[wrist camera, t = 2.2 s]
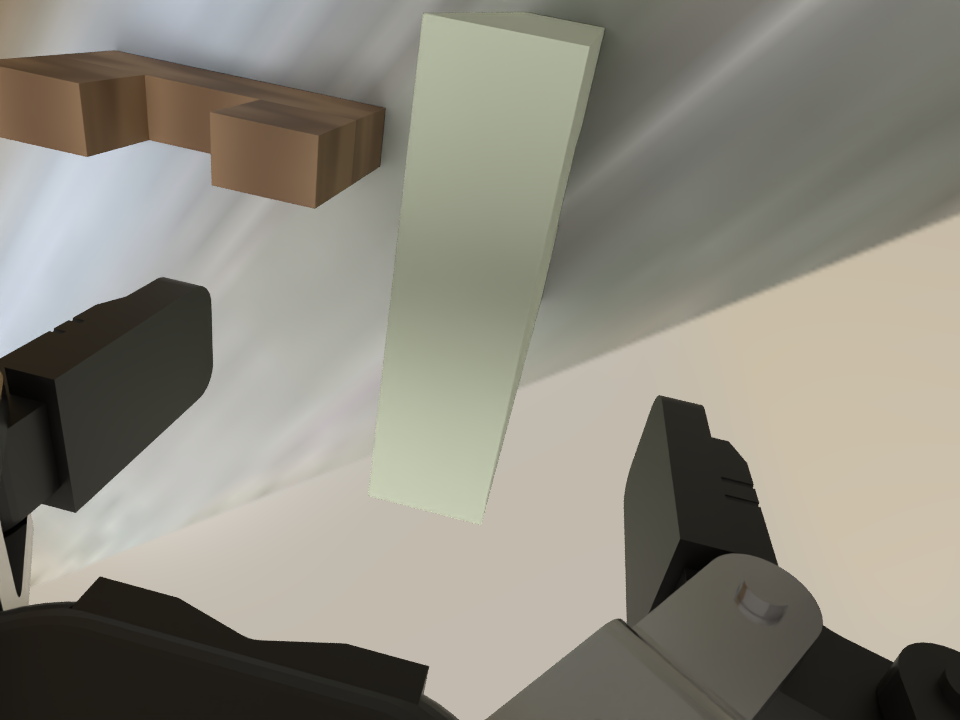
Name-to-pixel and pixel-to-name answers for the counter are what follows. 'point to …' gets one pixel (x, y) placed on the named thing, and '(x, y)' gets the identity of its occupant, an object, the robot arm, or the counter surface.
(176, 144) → the walnut u-shaped block
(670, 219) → the counter surface
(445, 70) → the pale green plank
